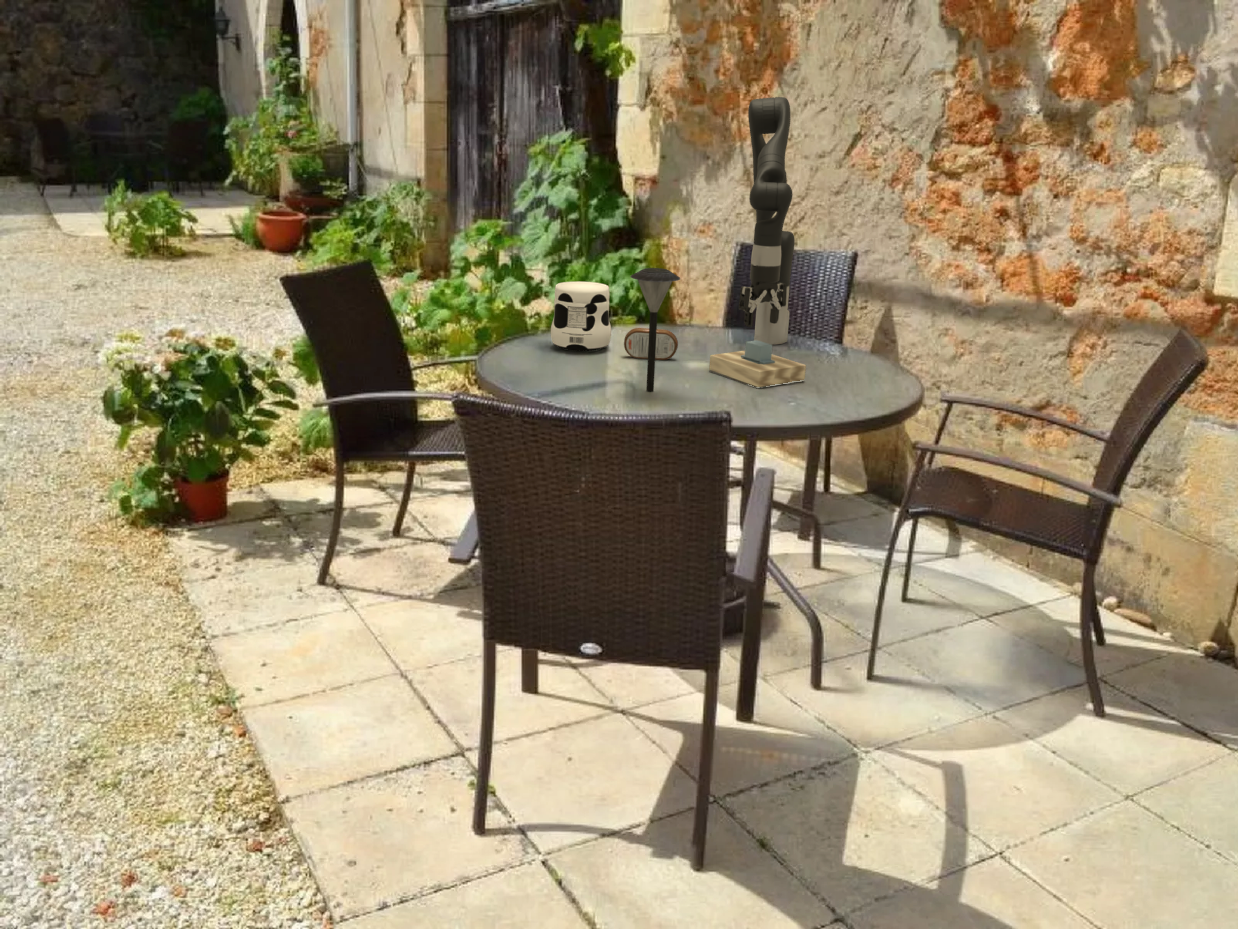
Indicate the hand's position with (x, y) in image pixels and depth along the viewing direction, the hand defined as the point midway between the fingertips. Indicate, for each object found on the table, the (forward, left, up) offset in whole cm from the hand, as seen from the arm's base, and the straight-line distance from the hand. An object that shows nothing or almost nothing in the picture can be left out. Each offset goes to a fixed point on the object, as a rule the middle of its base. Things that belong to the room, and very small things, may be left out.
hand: (761, 324), depth 281 cm
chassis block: (0, 0, -14) cm, 14 cm away
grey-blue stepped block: (0, 0, -13) cm, 13 cm away
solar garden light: (+34, -1, -14) cm, 37 cm away
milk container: (+25, -48, -14) cm, 56 cm away
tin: (+14, -29, -14) cm, 35 cm away
